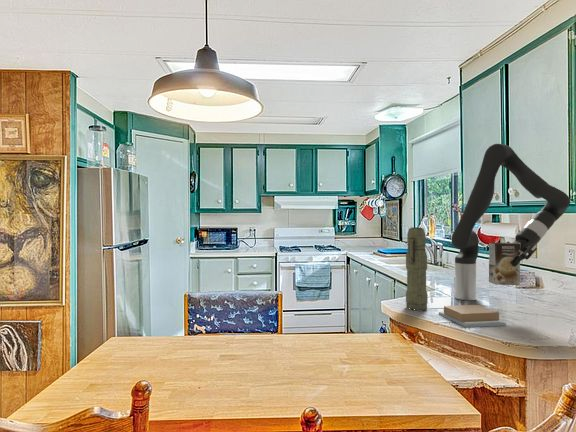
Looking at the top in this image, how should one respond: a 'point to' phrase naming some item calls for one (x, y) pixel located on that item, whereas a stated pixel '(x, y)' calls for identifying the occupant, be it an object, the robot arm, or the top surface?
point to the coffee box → (503, 264)
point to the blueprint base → (472, 315)
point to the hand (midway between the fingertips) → (505, 263)
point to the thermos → (416, 269)
